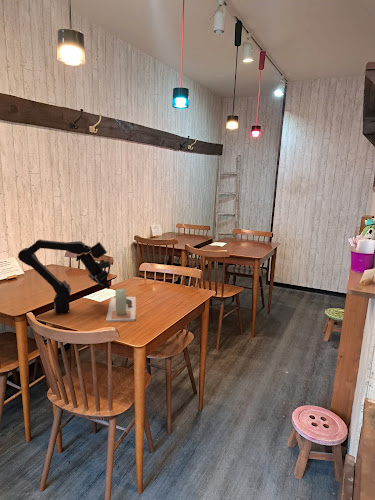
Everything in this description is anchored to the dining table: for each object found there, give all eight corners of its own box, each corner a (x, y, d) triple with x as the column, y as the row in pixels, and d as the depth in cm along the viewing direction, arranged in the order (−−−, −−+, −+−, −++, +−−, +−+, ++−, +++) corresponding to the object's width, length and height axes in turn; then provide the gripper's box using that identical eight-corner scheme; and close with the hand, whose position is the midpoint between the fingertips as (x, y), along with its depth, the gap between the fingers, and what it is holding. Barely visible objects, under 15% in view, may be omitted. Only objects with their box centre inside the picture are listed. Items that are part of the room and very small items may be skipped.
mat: (130, 318, 167) (130, 317, 167) (111, 318, 165) (111, 317, 165) (130, 311, 175) (130, 310, 175) (112, 312, 174) (112, 311, 174)
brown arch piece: (120, 311, 175) (120, 304, 175) (112, 305, 184) (112, 298, 183) (134, 308, 180) (134, 301, 179) (126, 302, 189) (125, 296, 188)
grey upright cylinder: (114, 315, 168) (114, 291, 166) (117, 311, 173) (117, 288, 171) (124, 316, 168) (124, 291, 165) (127, 312, 173) (127, 288, 170)
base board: (135, 320, 166) (135, 318, 166) (105, 322, 164) (105, 320, 164) (135, 298, 199) (135, 296, 199) (111, 299, 197) (111, 297, 197)
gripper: (107, 254, 170) (124, 279, 174) (98, 254, 186) (114, 277, 191) (89, 267, 166) (106, 293, 170) (81, 266, 182) (97, 289, 186)
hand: (106, 287), depth 179 cm, fingers open, 9 cm apart
